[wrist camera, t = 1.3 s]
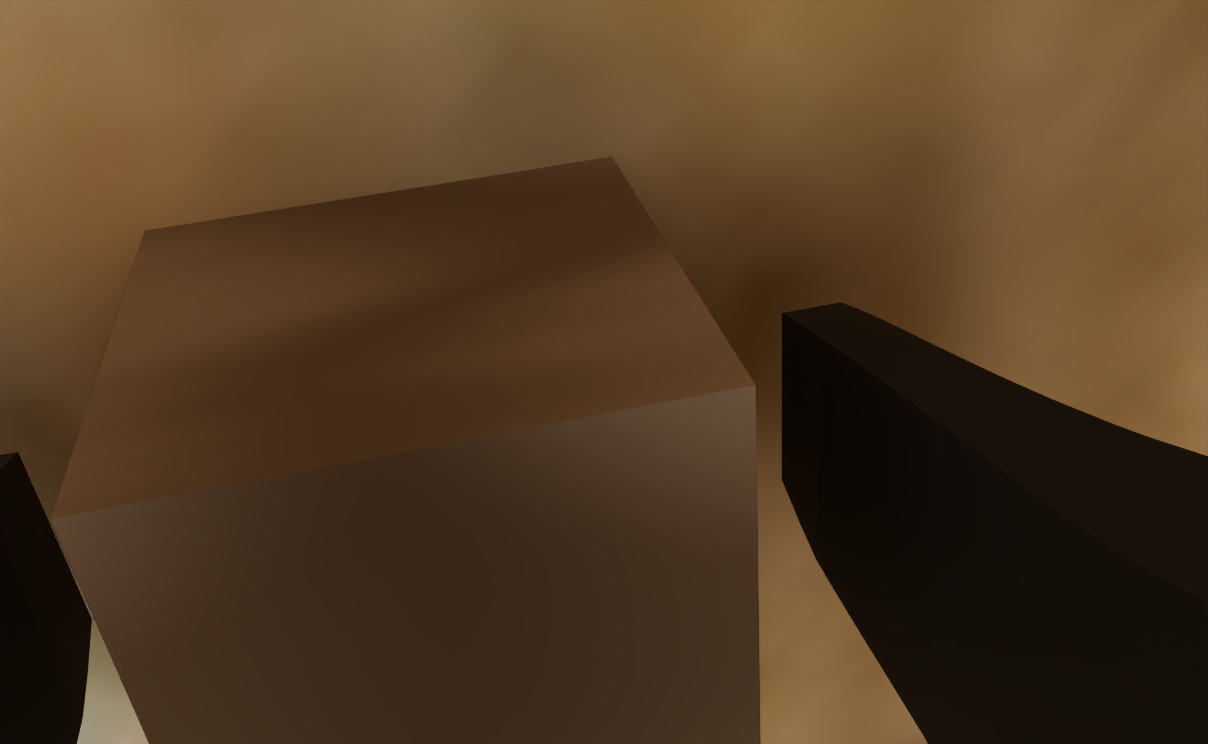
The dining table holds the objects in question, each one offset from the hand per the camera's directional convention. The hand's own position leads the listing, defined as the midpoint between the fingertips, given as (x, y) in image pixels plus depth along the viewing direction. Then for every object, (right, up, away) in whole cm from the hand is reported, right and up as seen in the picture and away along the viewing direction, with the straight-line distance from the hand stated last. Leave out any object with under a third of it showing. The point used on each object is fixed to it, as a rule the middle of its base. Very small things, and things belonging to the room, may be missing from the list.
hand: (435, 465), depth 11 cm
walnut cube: (0, +1, +1) cm, 2 cm away
